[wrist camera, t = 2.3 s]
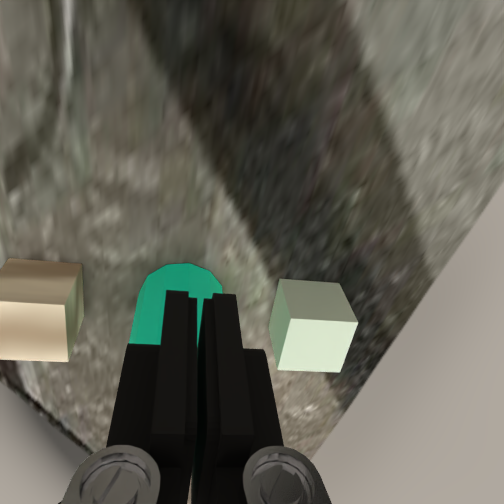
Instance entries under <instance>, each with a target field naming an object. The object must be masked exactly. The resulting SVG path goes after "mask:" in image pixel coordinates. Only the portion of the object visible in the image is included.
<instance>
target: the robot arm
mask: <svg viewBox="0 0 504 504" xmlns="http://www.w3.org/2000/svg"><path fill="white" fill-rule="evenodd" d="M191 473H192V483H191V504H332V503H331V501H330V498H329V496H328V493H327V491H326V489H325V486H324V484H323V481H322V479H321V477H320V475H319V473H318V471H317V470H316V468H315V466H314V465H313V464H312V462H311V461H310V460H309V459H308V458H307V457H306V456H304V455H303V454H301V453H299V452H298V451H296V450H294V449H291V448H288V447H284V444H283V439H282V434H281V429H280V424H279V419H278V414H277V408H276V403H275V398H274V393H273V388H272V383H271V378H270V373H269V368H268V363H267V357H266V354H265V351H264V350H263V349H244V348H243V345H242V338H241V330H240V323H239V315H238V308H237V300H236V295H235V294H222V293H213V295H212V299H208V298H204V301H203V308H202V316H201V324H200V331H199V339H198V347H197V298H193V297H189V291H177V290H166V297H165V306H164V315H163V324H162V334H161V343H160V345H156V344H134V343H128V345H127V348H126V353H125V357H124V362H123V367H122V372H121V377H120V382H119V387H118V392H117V397H116V401H115V406H114V411H113V416H112V421H111V426H110V431H109V436H108V440H107V445H106V448H103V449H101V450H99V451H97V452H95V453H93V454H92V455H90V456H89V457H88V458H87V459H86V460H85V461H84V462H82V463H81V464H80V465H79V467H78V468H77V470H76V472H75V473H74V475H73V477H72V479H71V481H70V483H69V486H68V488H67V491H66V493H65V495H64V497H63V500H62V501H61V502H60V503H58V504H187V500H188V493H189V486H190V480H191Z"/></svg>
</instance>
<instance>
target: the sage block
mask: <svg viewBox="0 0 504 504" xmlns="http://www.w3.org/2000/svg"><path fill="white" fill-rule="evenodd" d="M357 324H358V321H357V319H356V317H355V315H354V313H353V311H352V309H351V307H350V305H349V303H348V301H347V298H346V296H345V294H344V292H343V290H342V288H341V286H340V284H339V283H329V282H316V281H303V280H290V279H279V284H278V288H277V292H276V297H275V301H274V305H273V309H272V314H271V318H270V322H269V332H270V337H271V342H272V346H273V351H274V356H275V361H276V366H277V370H293V371H319V372H340V371H341V368H342V365H343V363H344V360H345V357H346V354H347V352H348V349H349V346H350V343H351V341H352V338H353V335H354V332H355V330H356V327H357Z"/></svg>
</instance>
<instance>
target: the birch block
mask: <svg viewBox="0 0 504 504" xmlns="http://www.w3.org/2000/svg"><path fill="white" fill-rule="evenodd" d="M83 318H84V302H83V277H82V264H78V263H65V262H52V261H39V260H26V259H13V258H8V260H7V261H6V263H5V264H4V266H3V267H2V268H1V270H0V359H3V360H30V361H56V362H68V361H69V358H70V356H71V353H72V350H73V347H74V344H75V341H76V338H77V336H78V333H79V330H80V327H81V324H82V321H83Z"/></svg>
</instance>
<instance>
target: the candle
mask: <svg viewBox="0 0 504 504" xmlns="http://www.w3.org/2000/svg"><path fill="white" fill-rule="evenodd" d="M166 290H177V291H189V297H193V298H197V347H198V339H199V331H200V324H201V316H202V308H203V301H204V298H208V299H212V295H213V293H222V294H223V292H222V285H221V284H220V283H219V282H218V281H217V279H216V278H215V277H214V276H213V274H212V273H211V272H210V271H208V270H206V269H203V268H201V267H198V266H196V265H193V264H190V263H183V264H168V265H165V266H163V267H161V268H160V269H158V270H156V271H155V272H153V273H151V274H149V275H148V276H147V278H146V280H145V282H144V284H143V286H142V288H141V290H140V292H139V296H138V301H137V306H136V311H135V315H134V320H133V325H132V330H131V335H130V340H129V343H134V344H156V345H160V343H161V334H162V324H163V315H164V306H165V297H166Z"/></svg>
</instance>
